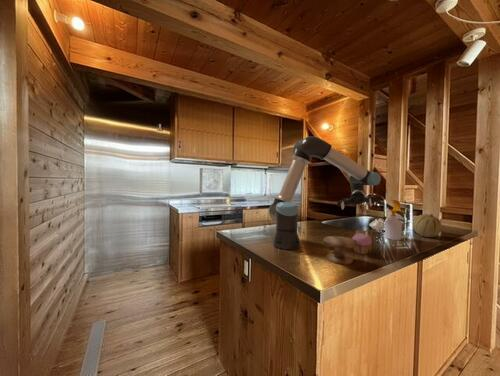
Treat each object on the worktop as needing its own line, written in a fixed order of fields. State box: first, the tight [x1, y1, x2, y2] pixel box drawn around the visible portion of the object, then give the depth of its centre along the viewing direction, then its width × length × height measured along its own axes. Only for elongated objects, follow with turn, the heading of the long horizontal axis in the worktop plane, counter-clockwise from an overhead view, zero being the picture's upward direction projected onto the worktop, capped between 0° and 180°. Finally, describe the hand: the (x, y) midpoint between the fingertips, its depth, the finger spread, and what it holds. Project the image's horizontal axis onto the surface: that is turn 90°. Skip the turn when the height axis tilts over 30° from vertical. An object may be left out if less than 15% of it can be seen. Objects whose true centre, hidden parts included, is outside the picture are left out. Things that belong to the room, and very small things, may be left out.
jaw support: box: [368, 218, 385, 233], centre depth 156 cm, size 12×9×10 cm
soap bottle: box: [383, 198, 403, 241], centre depth 136 cm, size 9×9×25 cm
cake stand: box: [322, 235, 357, 265], centre depth 98 cm, size 14×14×9 cm
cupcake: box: [351, 232, 373, 255], centre depth 107 cm, size 9×9×10 cm
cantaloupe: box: [412, 214, 443, 238], centre depth 140 cm, size 15×15×15 cm
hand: (355, 205), depth 113 cm, fingers open, 13 cm apart
